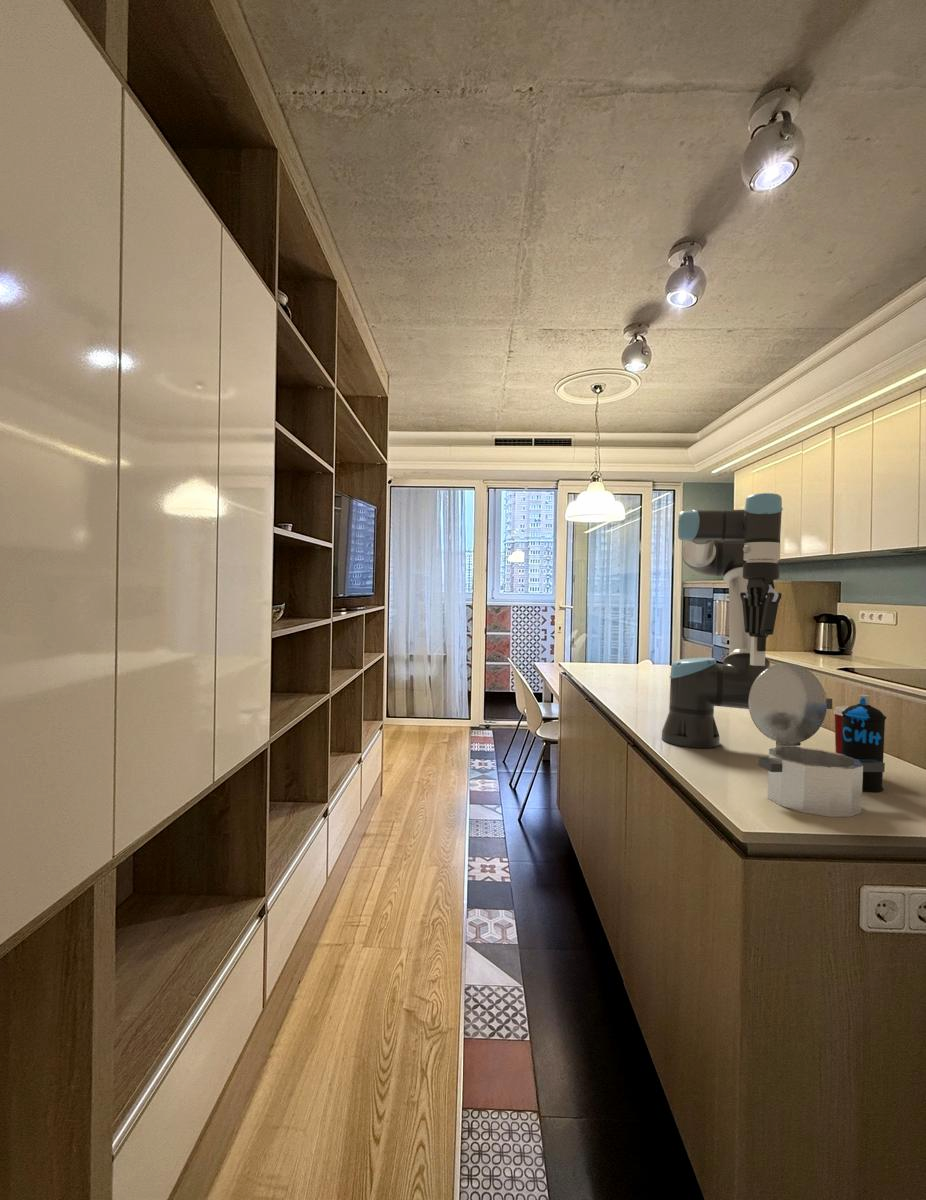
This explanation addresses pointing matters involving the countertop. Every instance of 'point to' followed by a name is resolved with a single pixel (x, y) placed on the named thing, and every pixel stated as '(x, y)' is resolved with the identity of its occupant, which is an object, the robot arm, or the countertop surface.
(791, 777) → the pot
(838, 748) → the coffee cup
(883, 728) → the aerosol can
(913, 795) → the countertop surface
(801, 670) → the lid
